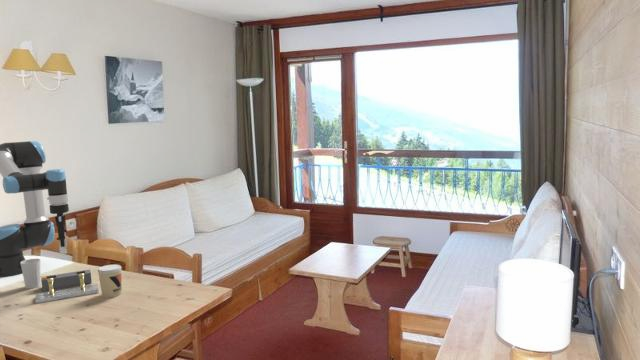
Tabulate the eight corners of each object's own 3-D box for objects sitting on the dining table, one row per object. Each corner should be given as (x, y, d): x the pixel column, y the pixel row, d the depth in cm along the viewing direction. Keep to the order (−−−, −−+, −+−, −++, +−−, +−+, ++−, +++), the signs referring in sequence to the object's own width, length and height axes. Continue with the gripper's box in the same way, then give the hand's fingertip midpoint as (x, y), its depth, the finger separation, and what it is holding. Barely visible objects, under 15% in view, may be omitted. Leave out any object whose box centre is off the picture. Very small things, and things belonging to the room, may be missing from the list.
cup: (46, 283, 236) (44, 258, 234) (35, 289, 228) (32, 263, 227) (30, 283, 237) (28, 258, 235) (19, 289, 229) (16, 263, 227)
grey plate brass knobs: (35, 303, 211) (33, 283, 210) (36, 297, 218) (34, 278, 217) (98, 292, 221) (96, 274, 220) (97, 287, 229) (95, 269, 227)
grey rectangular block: (42, 291, 225) (41, 279, 225) (42, 287, 231) (41, 275, 230) (91, 283, 234) (90, 271, 234) (91, 279, 240) (89, 268, 239)
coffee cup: (115, 298, 213) (112, 271, 212) (95, 297, 215) (92, 270, 214) (128, 291, 222) (125, 264, 221) (108, 290, 224) (106, 263, 223)
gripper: (50, 200, 237) (54, 245, 240) (48, 209, 215) (53, 258, 217) (67, 199, 240) (72, 243, 243) (68, 207, 218) (73, 255, 221)
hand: (63, 250), depth 230 cm, fingers open, 13 cm apart
